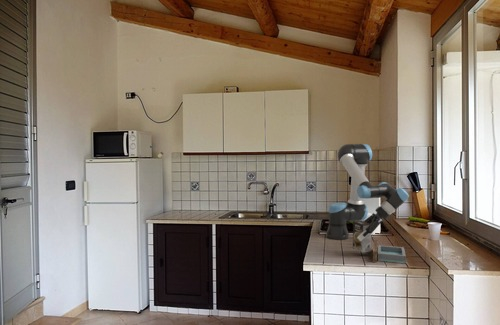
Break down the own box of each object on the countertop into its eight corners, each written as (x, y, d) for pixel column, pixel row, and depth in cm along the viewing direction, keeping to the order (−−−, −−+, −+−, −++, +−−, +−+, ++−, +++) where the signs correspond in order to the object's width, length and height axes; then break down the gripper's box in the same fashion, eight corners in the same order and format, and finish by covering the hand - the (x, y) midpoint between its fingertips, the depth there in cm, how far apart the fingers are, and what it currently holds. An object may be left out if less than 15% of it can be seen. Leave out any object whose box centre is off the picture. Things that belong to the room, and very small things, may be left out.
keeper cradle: (377, 260, 192) (377, 253, 192) (378, 251, 208) (378, 245, 208) (405, 263, 187) (405, 256, 187) (403, 254, 203) (404, 247, 203)
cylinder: (362, 227, 270) (362, 191, 268) (384, 231, 257) (384, 193, 256) (351, 231, 258) (351, 194, 256) (373, 235, 245) (373, 196, 244)
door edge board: (372, 262, 190) (372, 251, 190) (373, 249, 212) (374, 240, 212) (376, 262, 189) (376, 251, 189) (377, 250, 211) (377, 240, 211)
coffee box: (352, 248, 206) (352, 221, 205) (361, 247, 208) (361, 220, 208) (362, 252, 198) (362, 224, 197) (371, 251, 200) (371, 223, 199)
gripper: (395, 219, 189) (365, 247, 191) (384, 211, 212) (357, 236, 214) (385, 209, 189) (356, 237, 192) (375, 202, 212) (348, 227, 215)
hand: (356, 236), depth 203 cm, fingers closed on coffee box, 10 cm apart
